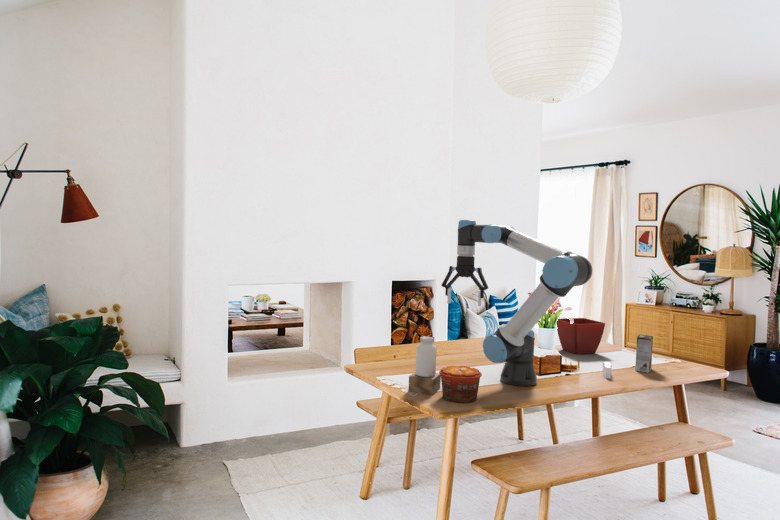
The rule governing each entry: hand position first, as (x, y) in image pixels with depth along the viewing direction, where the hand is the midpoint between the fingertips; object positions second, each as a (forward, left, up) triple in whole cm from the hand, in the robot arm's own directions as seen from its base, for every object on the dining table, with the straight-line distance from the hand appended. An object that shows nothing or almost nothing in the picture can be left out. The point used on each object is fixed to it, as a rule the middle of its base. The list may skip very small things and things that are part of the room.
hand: (464, 304), depth 242 cm
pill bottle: (+8, +27, -26) cm, 38 cm away
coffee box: (-75, -54, -32) cm, 98 cm away
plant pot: (-44, -83, -32) cm, 99 cm away
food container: (-7, +31, -32) cm, 45 cm away
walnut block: (+8, +27, -32) cm, 42 cm away
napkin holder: (-58, -34, -32) cm, 75 cm away
